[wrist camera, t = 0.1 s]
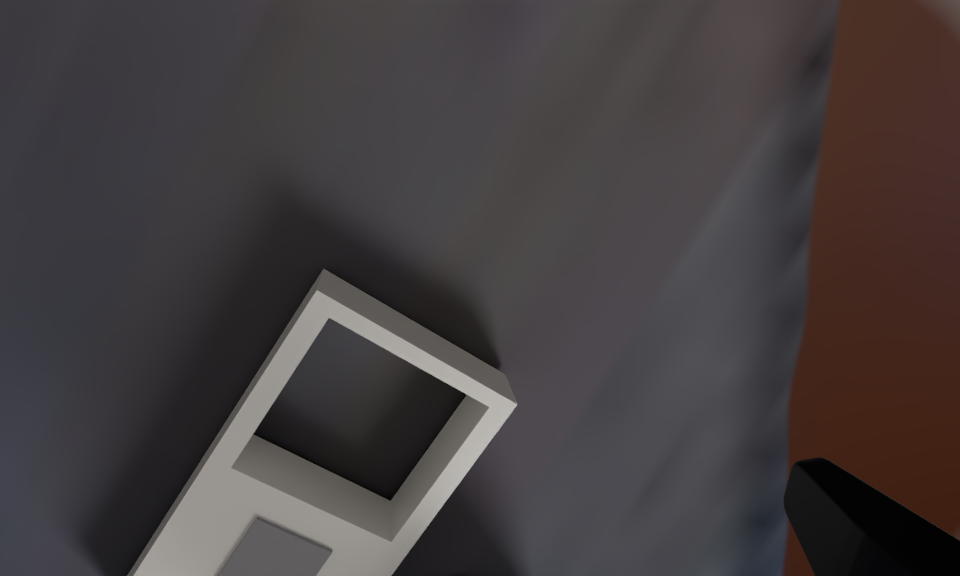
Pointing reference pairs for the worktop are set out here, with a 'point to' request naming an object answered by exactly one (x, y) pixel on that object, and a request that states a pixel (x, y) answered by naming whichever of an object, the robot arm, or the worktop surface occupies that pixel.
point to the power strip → (310, 488)
